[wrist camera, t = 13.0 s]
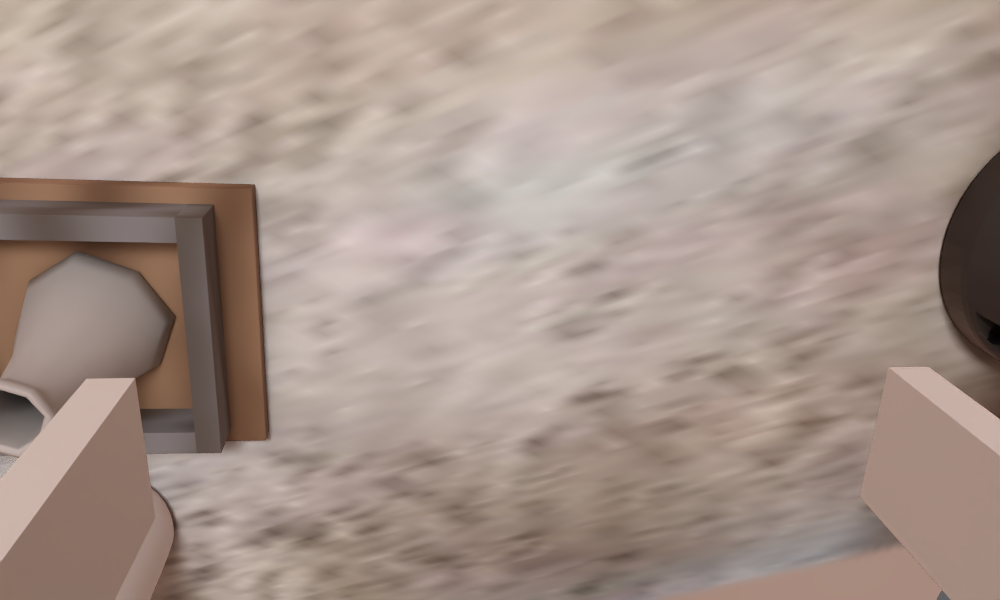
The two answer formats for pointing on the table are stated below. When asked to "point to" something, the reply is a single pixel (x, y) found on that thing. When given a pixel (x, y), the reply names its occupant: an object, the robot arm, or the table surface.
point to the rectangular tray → (158, 291)
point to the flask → (77, 340)
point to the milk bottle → (150, 556)
